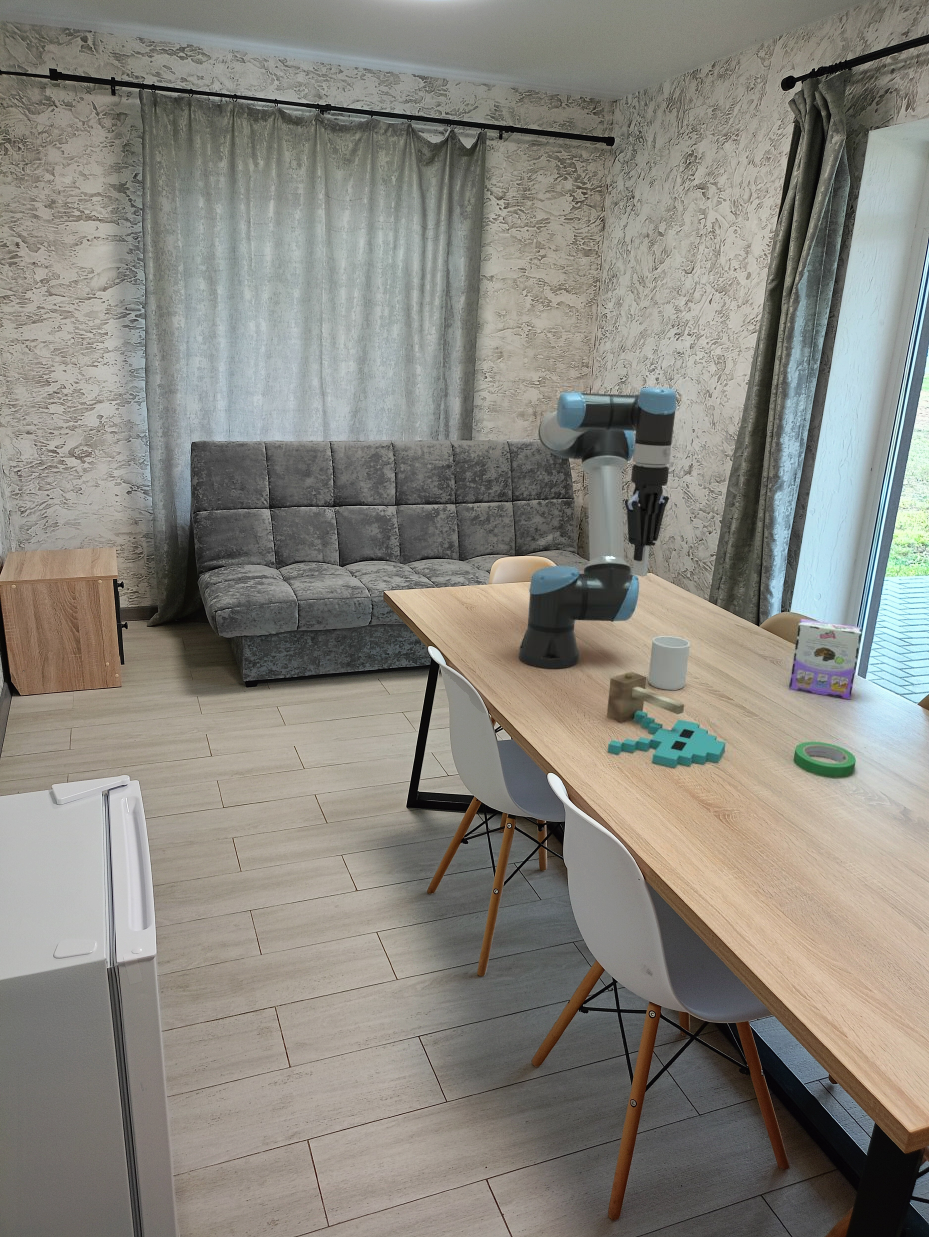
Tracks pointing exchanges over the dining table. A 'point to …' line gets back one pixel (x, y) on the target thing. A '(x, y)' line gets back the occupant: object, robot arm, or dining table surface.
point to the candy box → (825, 658)
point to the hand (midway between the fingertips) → (639, 574)
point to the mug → (668, 662)
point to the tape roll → (823, 768)
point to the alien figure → (673, 743)
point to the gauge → (634, 698)
